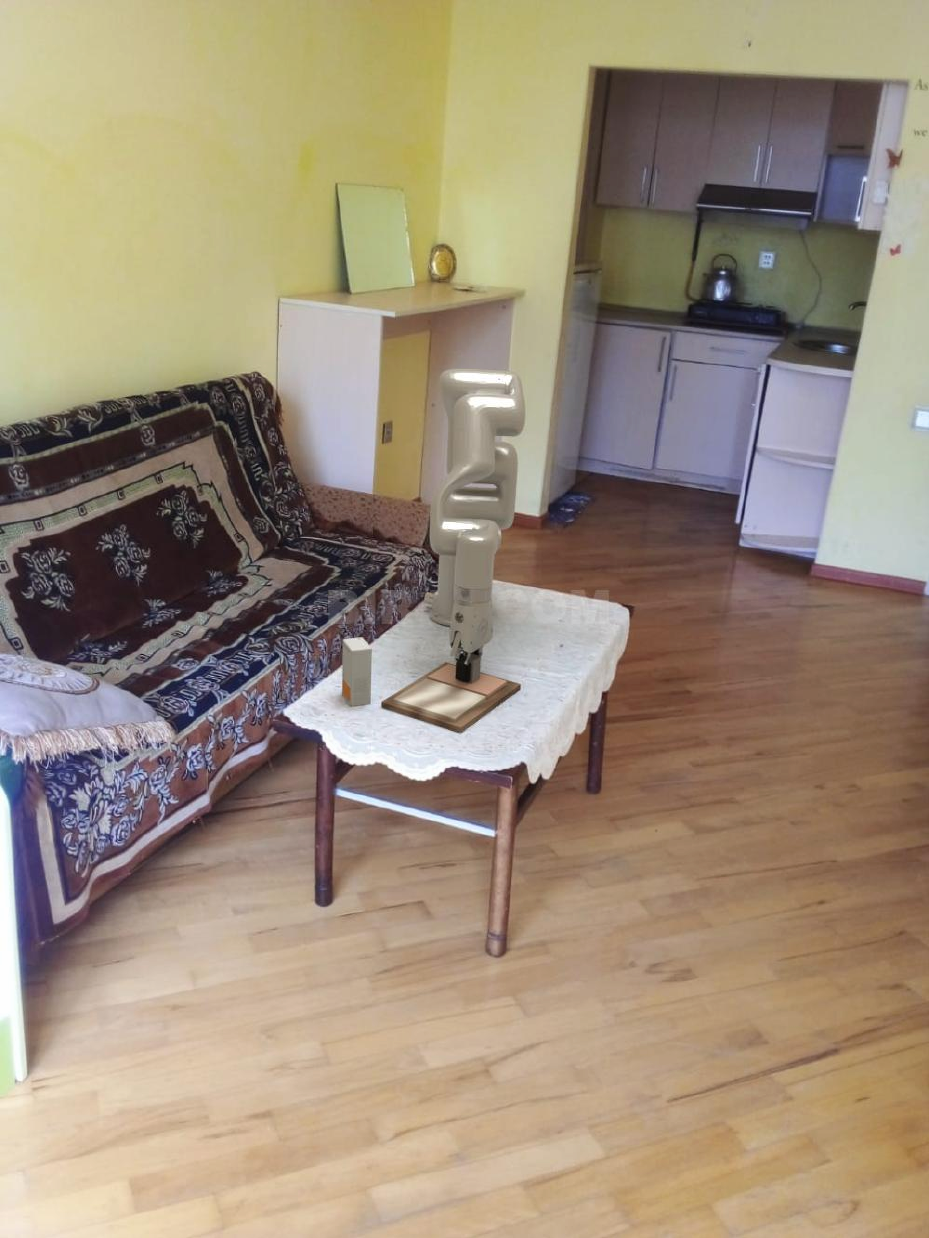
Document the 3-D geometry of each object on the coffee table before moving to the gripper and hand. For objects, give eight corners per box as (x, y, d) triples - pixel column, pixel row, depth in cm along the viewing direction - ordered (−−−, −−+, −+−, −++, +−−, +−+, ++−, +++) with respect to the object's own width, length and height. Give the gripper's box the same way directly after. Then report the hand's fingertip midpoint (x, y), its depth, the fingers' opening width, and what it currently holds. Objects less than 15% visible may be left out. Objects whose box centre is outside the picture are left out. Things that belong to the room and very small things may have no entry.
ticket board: (381, 707, 215) (381, 698, 214) (445, 667, 234) (446, 658, 233) (460, 733, 206) (461, 723, 206) (520, 689, 226) (521, 680, 225)
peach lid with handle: (427, 680, 224) (428, 653, 222) (448, 667, 231) (449, 641, 229) (487, 698, 218) (489, 671, 216) (506, 684, 224) (508, 658, 222)
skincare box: (341, 694, 219) (341, 638, 215) (361, 691, 221) (362, 636, 216) (350, 707, 214) (351, 650, 210) (371, 704, 216) (372, 648, 211)
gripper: (468, 608, 209) (462, 696, 216) (509, 585, 222) (503, 668, 229) (434, 599, 212) (430, 686, 219) (477, 577, 225) (471, 659, 232)
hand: (467, 676), depth 224 cm, fingers closed on peach lid with handle, 3 cm apart
